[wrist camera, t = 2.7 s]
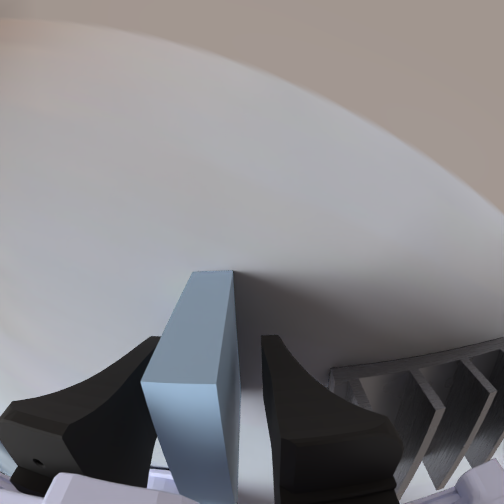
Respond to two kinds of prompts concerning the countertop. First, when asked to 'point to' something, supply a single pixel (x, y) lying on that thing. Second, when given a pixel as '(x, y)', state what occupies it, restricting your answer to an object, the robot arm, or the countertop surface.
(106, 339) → the countertop surface
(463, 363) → the rack
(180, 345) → the panel
